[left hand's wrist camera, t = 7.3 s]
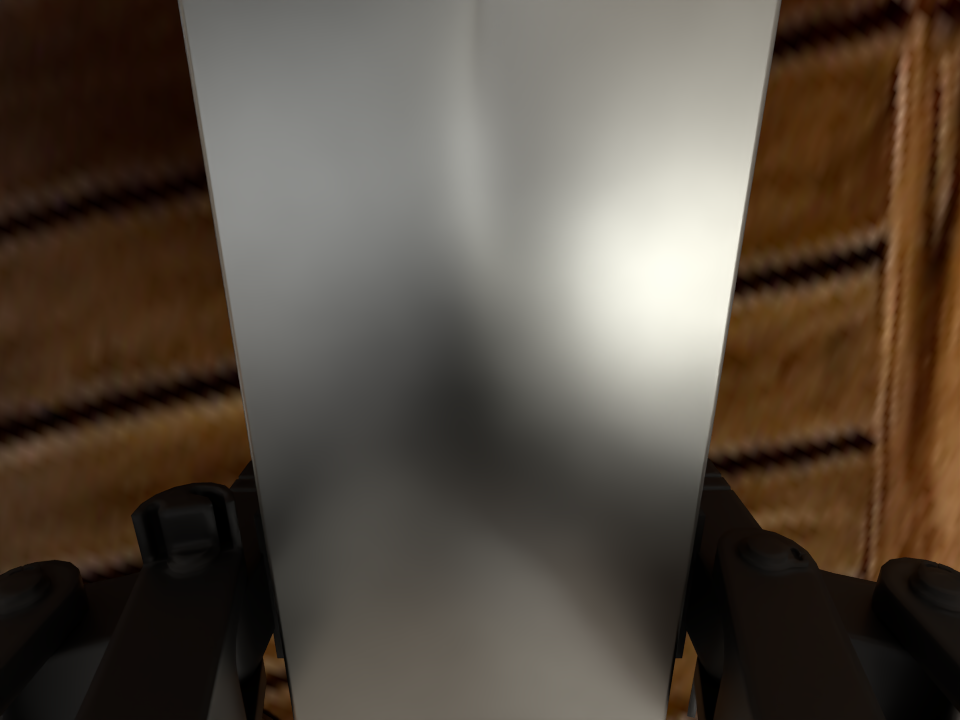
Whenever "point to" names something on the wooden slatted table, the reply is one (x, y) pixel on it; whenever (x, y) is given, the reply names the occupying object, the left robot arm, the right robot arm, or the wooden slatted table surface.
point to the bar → (479, 331)
